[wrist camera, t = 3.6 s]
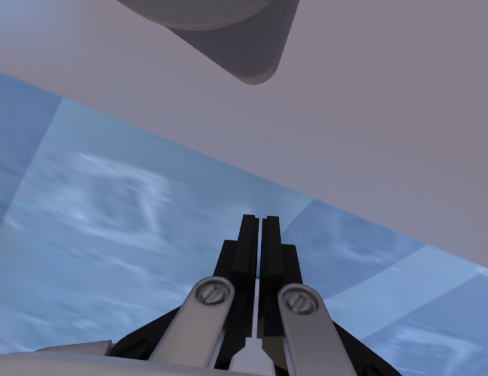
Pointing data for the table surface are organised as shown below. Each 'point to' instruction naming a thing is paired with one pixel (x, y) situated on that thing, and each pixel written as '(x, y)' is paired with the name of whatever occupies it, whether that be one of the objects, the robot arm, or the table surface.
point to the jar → (253, 350)
